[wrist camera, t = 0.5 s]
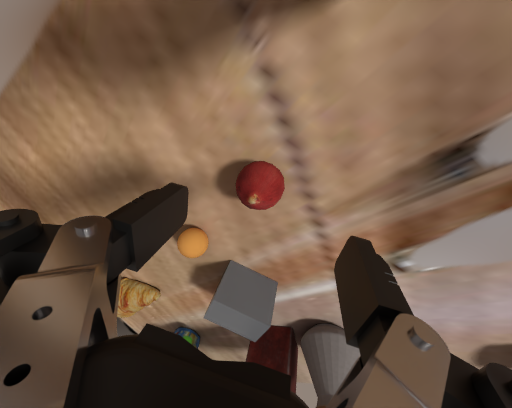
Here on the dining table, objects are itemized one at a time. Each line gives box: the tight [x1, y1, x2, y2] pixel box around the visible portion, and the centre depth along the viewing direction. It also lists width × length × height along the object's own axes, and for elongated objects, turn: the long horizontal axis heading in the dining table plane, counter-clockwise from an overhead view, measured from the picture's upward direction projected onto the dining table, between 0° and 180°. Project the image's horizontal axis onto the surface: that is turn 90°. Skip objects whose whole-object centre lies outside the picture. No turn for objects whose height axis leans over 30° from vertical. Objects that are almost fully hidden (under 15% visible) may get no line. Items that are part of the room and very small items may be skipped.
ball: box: [177, 228, 208, 258], centre depth 34 cm, size 5×5×5 cm
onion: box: [236, 161, 285, 210], centre depth 24 cm, size 6×6×8 cm
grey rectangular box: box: [204, 260, 278, 342], centre depth 36 cm, size 6×10×8 cm, turn 68°
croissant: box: [117, 278, 161, 318], centre depth 50 cm, size 21×10×8 cm, turn 110°
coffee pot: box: [301, 324, 360, 408], centre depth 35 cm, size 21×12×15 cm, turn 115°
